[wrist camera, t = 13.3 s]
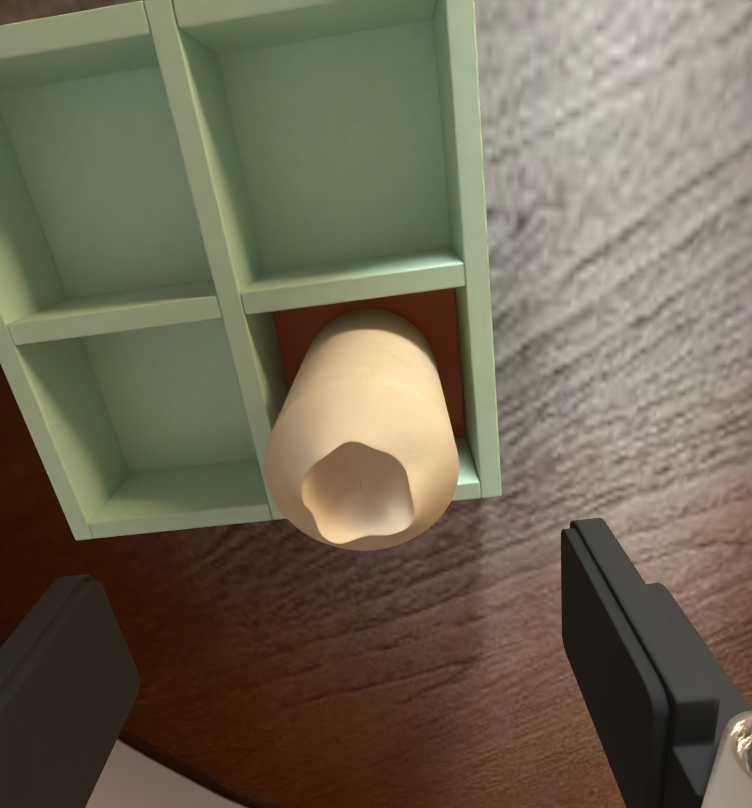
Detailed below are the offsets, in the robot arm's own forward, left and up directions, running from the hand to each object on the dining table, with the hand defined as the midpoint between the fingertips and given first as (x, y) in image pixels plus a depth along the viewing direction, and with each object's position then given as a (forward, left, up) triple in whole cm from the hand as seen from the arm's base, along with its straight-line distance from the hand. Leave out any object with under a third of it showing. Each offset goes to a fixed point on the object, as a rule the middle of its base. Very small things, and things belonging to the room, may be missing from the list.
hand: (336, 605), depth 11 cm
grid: (-4, +4, -14) cm, 15 cm away
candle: (0, 0, -14) cm, 14 cm away
